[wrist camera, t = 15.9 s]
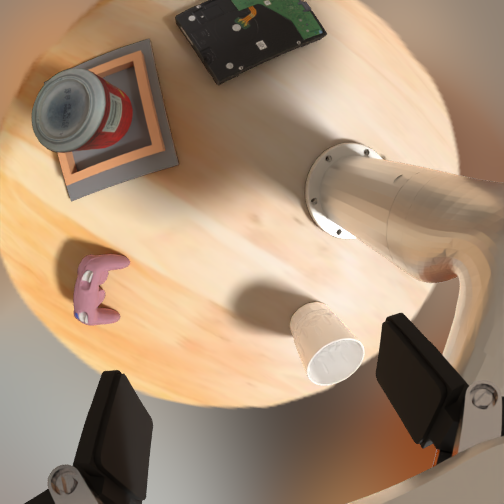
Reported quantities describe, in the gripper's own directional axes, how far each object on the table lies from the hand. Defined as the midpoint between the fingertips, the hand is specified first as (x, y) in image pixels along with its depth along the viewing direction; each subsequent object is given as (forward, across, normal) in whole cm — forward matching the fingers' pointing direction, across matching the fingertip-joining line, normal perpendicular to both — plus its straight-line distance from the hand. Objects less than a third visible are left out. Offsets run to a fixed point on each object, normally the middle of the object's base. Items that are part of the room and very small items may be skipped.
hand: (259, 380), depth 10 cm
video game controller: (+27, +18, +6) cm, 33 cm away
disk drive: (+28, -6, -22) cm, 36 cm away
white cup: (+28, -9, +19) cm, 35 cm away
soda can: (+26, +12, -13) cm, 32 cm away
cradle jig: (+27, +12, -13) cm, 32 cm away
